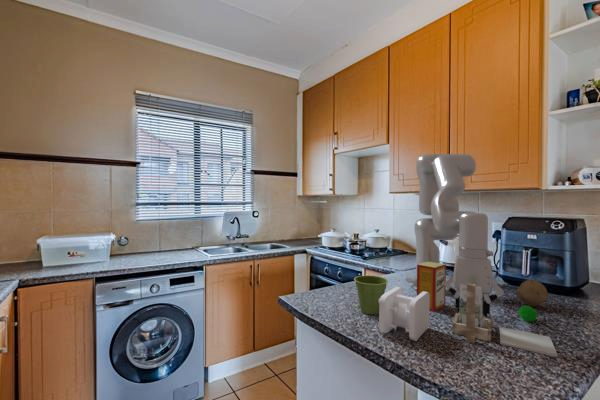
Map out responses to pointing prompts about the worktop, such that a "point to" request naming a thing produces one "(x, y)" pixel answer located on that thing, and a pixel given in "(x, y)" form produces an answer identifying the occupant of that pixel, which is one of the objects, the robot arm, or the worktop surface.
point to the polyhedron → (527, 313)
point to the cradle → (471, 321)
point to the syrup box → (478, 306)
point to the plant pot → (370, 292)
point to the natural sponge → (532, 292)
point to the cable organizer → (404, 312)
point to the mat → (527, 341)
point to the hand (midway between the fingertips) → (472, 312)
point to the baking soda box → (432, 283)
